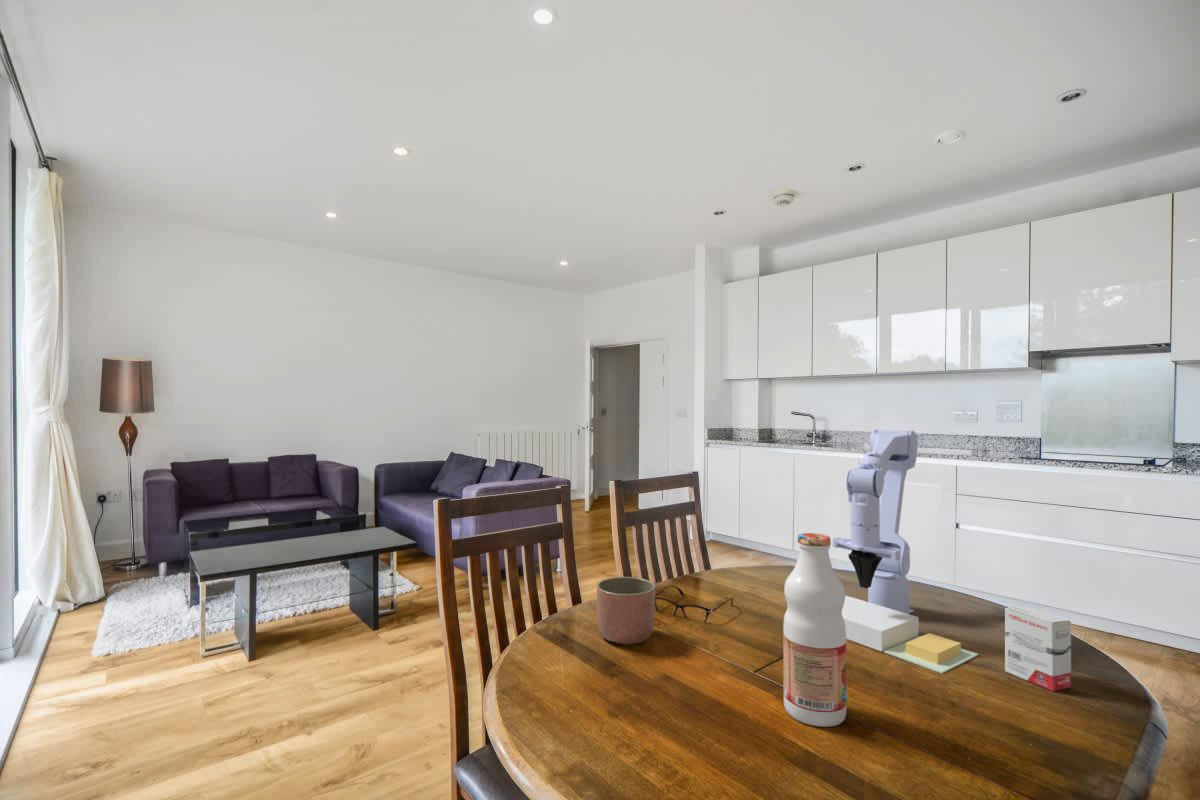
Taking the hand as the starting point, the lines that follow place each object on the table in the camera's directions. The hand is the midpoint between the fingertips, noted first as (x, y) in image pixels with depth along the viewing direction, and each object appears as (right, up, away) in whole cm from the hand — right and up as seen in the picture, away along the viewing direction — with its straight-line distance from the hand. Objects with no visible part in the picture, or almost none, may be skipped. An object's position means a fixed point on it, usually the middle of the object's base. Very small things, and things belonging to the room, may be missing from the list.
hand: (865, 586), depth 126 cm
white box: (-2, -10, +3) cm, 10 cm away
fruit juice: (-24, -9, -34) cm, 42 cm away
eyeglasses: (-35, -10, +14) cm, 39 cm away
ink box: (+21, -10, -22) cm, 32 cm away
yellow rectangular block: (+8, -7, -12) cm, 16 cm away
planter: (-52, -10, -3) cm, 53 cm away
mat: (+8, -10, -12) cm, 17 cm away
